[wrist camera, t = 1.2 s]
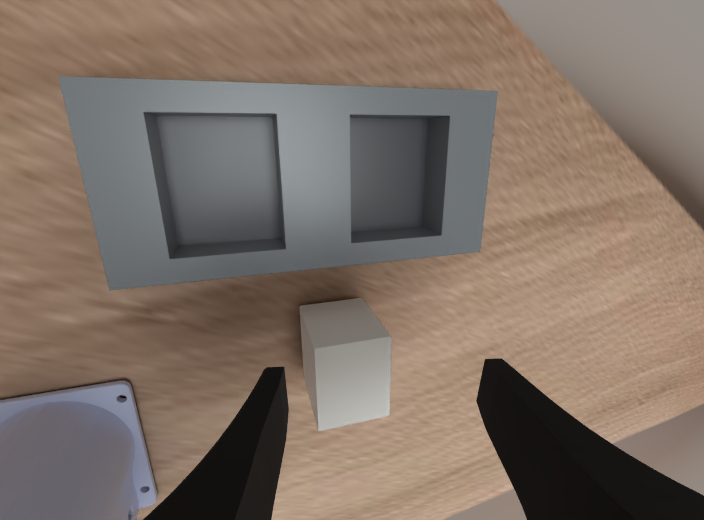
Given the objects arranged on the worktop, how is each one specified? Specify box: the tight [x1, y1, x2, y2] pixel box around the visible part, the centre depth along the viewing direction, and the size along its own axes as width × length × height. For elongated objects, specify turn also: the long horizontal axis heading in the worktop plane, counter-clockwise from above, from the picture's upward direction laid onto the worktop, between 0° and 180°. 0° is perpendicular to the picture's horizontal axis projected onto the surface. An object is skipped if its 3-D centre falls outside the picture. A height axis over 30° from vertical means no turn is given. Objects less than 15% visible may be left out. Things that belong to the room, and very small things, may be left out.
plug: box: [299, 298, 392, 432], centre depth 21 cm, size 5×4×6 cm
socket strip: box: [58, 76, 498, 290], centre depth 19 cm, size 9×20×3 cm, turn 90°
